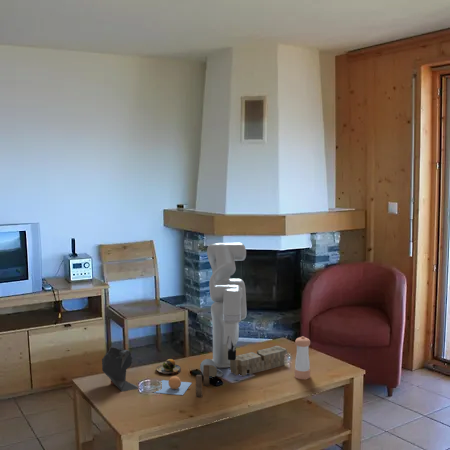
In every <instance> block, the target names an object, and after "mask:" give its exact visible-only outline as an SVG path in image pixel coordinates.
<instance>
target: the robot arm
mask: <svg viewBox="0 0 450 450" xmlns="http://www.w3.org/2000/svg"><path fill="white" fill-rule="evenodd" d="M206 254H207V259H208V262H209V264H210V267H211V271H212V274H211V276H210V278H209V282H208V283H209V284H208V287H209V288H208V289H209V296H210V300H211V301H212V302H213V303H212V304H211V306H210V313H211V314H210V315H211V320H212V358H211V360H213V361H214V363H215V365H216V368H217V369H226V368H230V360H235V359H236V356H237V343H238V341H239V338H240V330H239V329H240V326H239V325H240V323H241V321H243V320H245V319H246V317H247V315H248V314H247V311H248V309H247V295H246V293H247V292H246V290H247V289H246V285H245V284H246V283H245V282H244V280H243V279H241V278H231V276H233V275H234V274H235V272H236V270H237V269H236V262H238V261H243V262H244V261H245V259H246V257H247V249H246V247H245V245H244V244H243V243H242V242H216V243H211V244H209V245H208V246H207V249H206Z"/></svg>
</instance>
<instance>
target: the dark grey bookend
mask: <svg viewBox="0 0 450 450" xmlns="http://www.w3.org/2000/svg"><path fill="white" fill-rule="evenodd" d="M132 364H133V355H132V351H131V350H128V349H121V348H120V349H119V348H117V347H113V346H110V347H109V349H108V351H107V353H105V355H104V356H103V357H102V358H101V366H102V367H101V368H102V369H101V370H102V372H103V373H104V374H105V376H106V377H108V379H110V385H111V386H114V385H115V386H116V387H117V388H118V389H119V391H120V392H126V391H133V390H139V389H138V387H139V386H138V385H136V384H134V383H130V382H128V381H127V380H126V377H127V369H129V368H130V367H131V366H132Z"/></svg>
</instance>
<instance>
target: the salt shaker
mask: <svg viewBox="0 0 450 450" xmlns="http://www.w3.org/2000/svg"><path fill="white" fill-rule="evenodd" d="M294 342H295V343H294V344H295V346H296V356H295V361H294V362H295V363H294V364H295V367H294V374H293V375H294V378H295V379H298V380H308V379H310V378H311V369H310V364H311V363H310V356H309V352H310V351H309V348H310V347H309V346H310V345H311V340H310V339H309V338H307V337H305V336H303V335H302V336H299V337H297V338H296V339H295V341H294Z"/></svg>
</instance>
